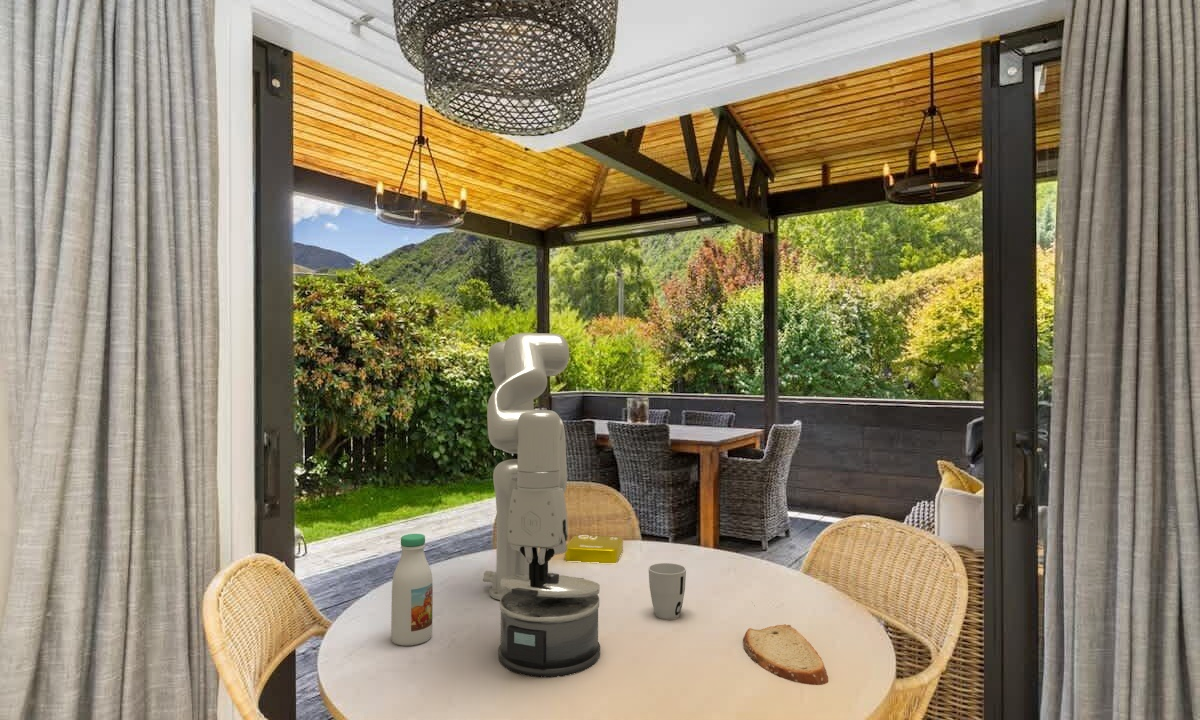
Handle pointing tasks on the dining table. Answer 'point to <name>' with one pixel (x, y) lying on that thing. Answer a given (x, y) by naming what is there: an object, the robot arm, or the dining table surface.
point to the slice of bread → (785, 654)
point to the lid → (551, 586)
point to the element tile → (594, 549)
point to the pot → (548, 634)
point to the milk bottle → (412, 594)
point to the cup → (667, 589)
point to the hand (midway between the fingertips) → (538, 584)
